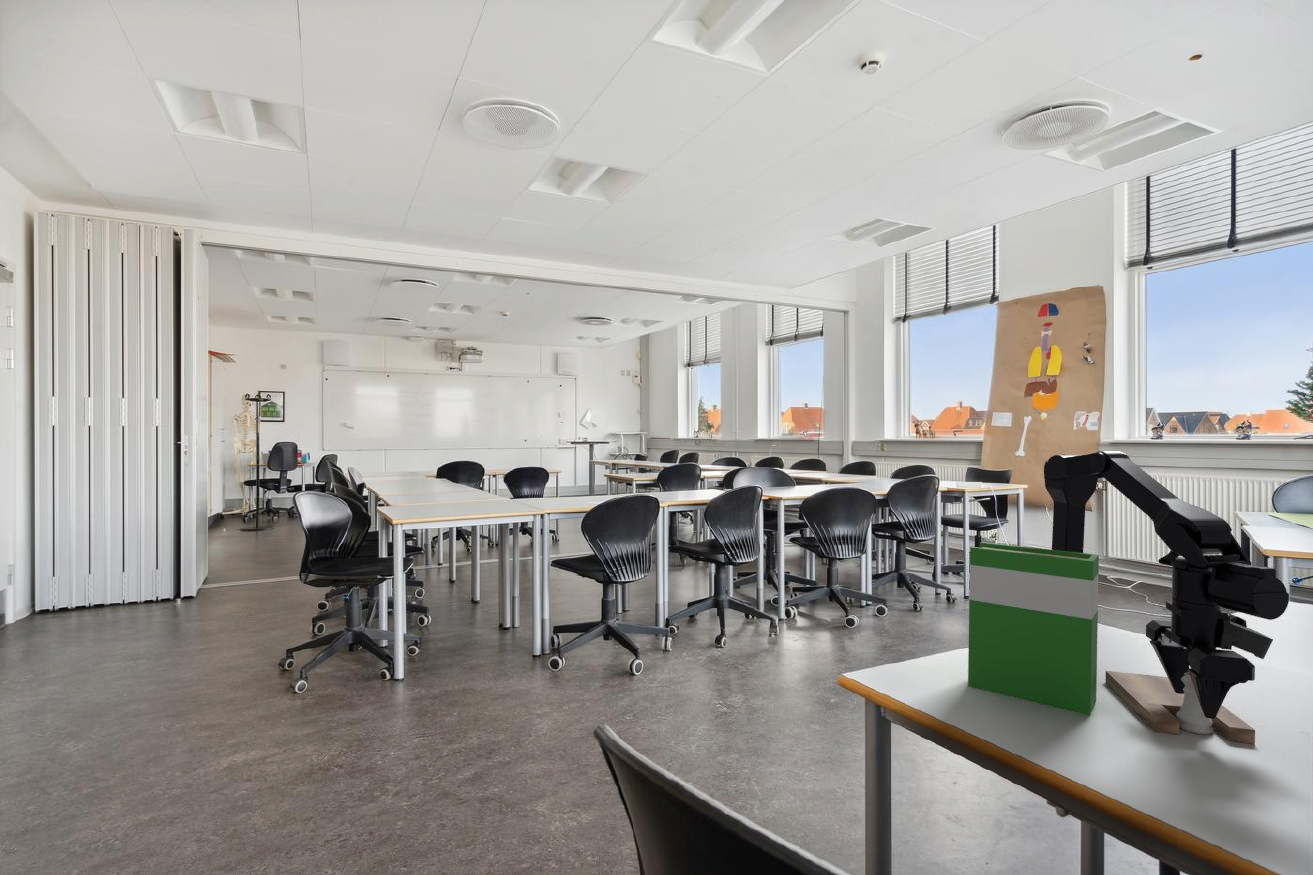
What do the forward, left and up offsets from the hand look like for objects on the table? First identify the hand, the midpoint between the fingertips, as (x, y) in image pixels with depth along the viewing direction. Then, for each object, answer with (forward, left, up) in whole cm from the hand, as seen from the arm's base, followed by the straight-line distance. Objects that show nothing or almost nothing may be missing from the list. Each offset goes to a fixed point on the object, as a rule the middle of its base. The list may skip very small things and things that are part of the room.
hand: (1194, 705), depth 97 cm
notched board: (0, +7, -4) cm, 8 cm away
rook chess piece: (0, 0, -4) cm, 4 cm away
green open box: (-20, +7, -4) cm, 22 cm away
